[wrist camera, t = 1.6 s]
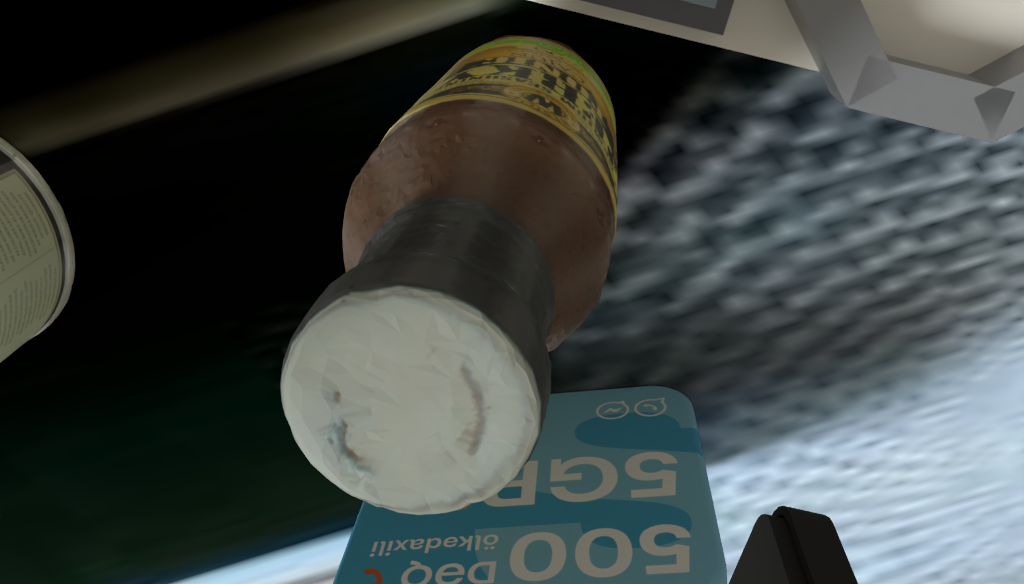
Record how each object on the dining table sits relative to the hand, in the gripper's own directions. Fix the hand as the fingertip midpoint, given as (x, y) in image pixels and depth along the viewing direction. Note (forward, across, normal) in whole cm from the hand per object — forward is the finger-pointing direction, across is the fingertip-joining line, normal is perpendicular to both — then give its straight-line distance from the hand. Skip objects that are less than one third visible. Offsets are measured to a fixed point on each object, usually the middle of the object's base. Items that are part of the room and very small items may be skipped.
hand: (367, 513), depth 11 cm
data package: (+22, -5, +13) cm, 27 cm away
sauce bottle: (+22, -1, 0) cm, 23 cm away
